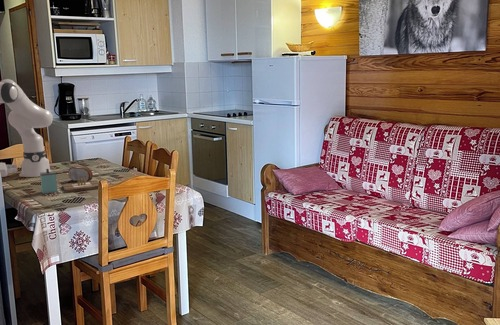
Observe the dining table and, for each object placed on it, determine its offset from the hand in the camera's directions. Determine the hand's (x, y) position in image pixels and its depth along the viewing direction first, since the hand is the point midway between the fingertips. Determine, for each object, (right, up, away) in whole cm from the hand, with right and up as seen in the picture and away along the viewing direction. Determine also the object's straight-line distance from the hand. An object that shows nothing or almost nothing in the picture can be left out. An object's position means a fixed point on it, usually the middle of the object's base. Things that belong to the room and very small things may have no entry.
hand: (16, 168), depth 249 cm
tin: (+21, -8, +31) cm, 39 cm away
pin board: (+27, -10, +17) cm, 33 cm away
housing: (+13, -12, +9) cm, 20 cm away
